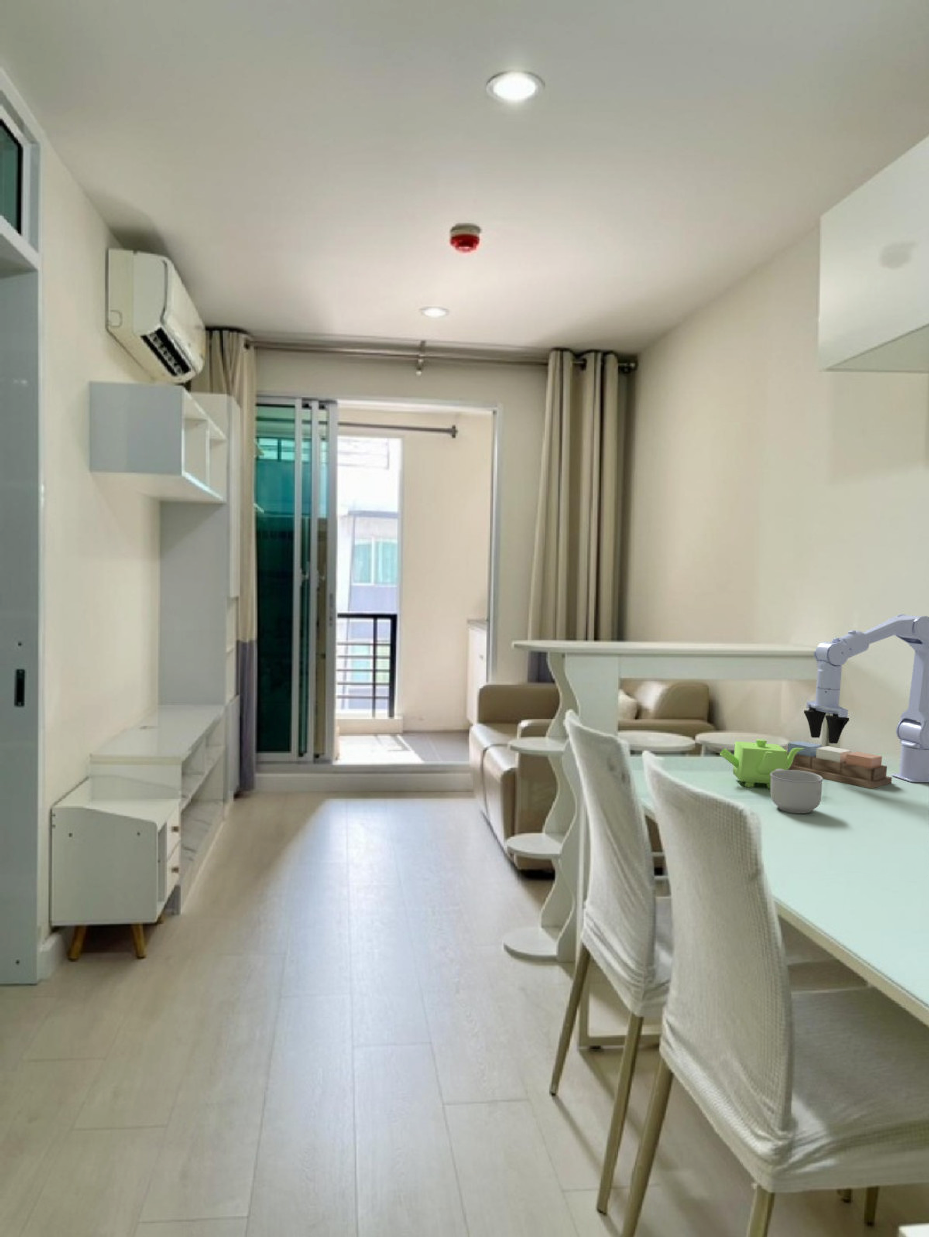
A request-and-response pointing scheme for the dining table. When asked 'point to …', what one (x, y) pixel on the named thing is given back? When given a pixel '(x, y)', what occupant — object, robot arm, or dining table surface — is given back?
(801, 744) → the slate blue key
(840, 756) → the cream key
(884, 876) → the dining table surface
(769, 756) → the kettle
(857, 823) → the dining table surface
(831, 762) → the wooden compartment tray
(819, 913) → the dining table surface
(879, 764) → the terracotta key
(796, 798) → the teacup
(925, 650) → the robot arm
